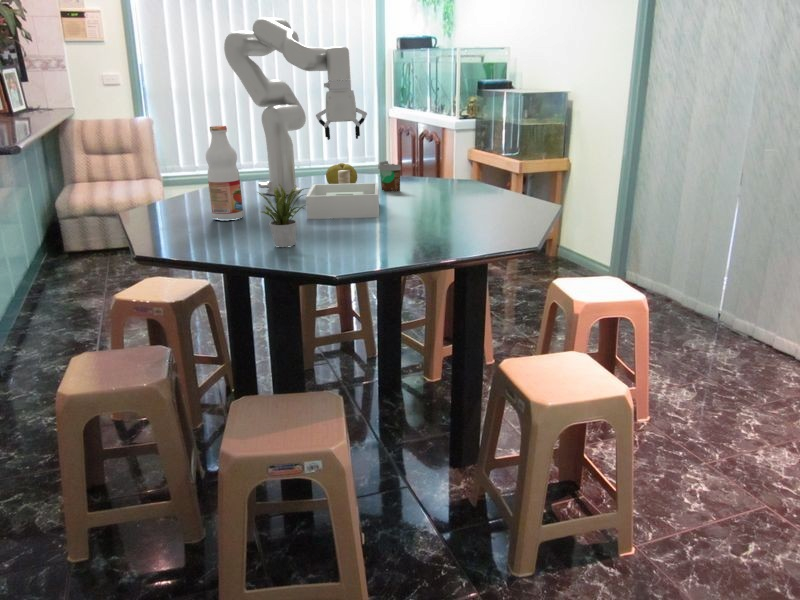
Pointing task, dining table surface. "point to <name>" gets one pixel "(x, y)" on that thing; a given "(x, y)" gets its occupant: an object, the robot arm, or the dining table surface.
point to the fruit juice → (223, 176)
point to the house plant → (283, 218)
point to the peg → (344, 176)
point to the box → (343, 201)
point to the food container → (389, 176)
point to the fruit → (333, 173)
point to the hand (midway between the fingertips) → (342, 138)
